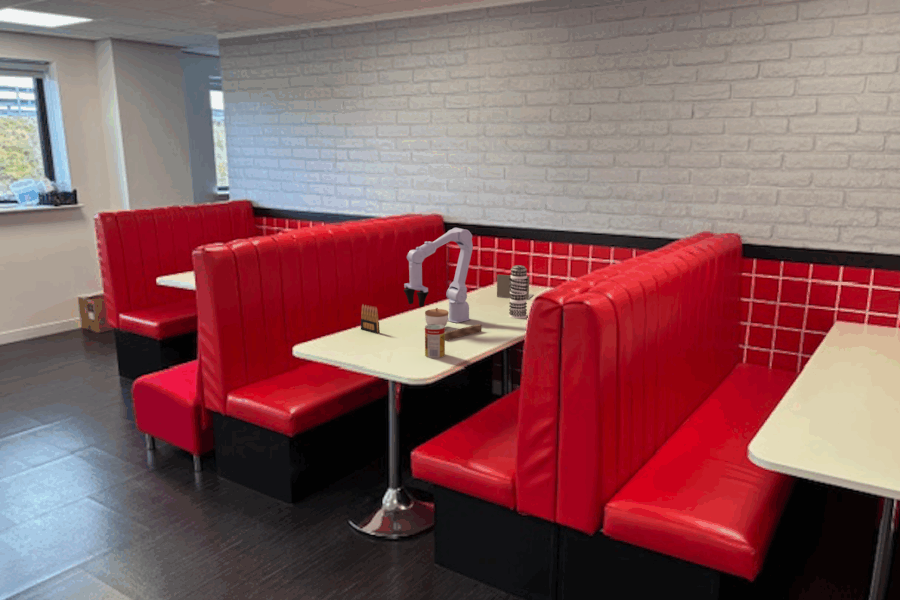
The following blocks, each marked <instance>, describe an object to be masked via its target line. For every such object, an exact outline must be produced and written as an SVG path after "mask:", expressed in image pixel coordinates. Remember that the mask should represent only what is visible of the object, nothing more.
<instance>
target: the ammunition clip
mask: <svg viewBox="0 0 900 600" xmlns="http://www.w3.org/2000/svg"><path fill="white" fill-rule="evenodd" d="M378 312H379V311H378V308H377V306H372V305H367V304H365V305H364V303H362V305H361V319H360V330H362V331H365V332H368V333H372V334H381V333H380V321H379V313H378Z"/></svg>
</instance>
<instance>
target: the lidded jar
mask: <svg viewBox="0 0 900 600" xmlns="http://www.w3.org/2000/svg"><path fill="white" fill-rule="evenodd" d="M424 311H425V312H424V315H425V318H424V319H425V322H426V325H429V324H441V325H444V326H445V327H446V326H447V324H448V322H449V321H448V318H449V310H447V309H443V308H438V307H436V308H433V309H432V308H431V309H427V310H424Z"/></svg>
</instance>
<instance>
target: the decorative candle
mask: <svg viewBox="0 0 900 600" xmlns="http://www.w3.org/2000/svg"><path fill="white" fill-rule="evenodd" d="M527 272H528V269H527V267H526V266H525V265H523V264H522V265H519V264H518V265H517V264H516V265H513V266H512V268H510V275H511V277H510V278H509V280H510V282H509V284H510V285H509V287H510V294H511V298H509V312H508V314H509V315H508V316H509V317H510V318H512V319H524V318H527V314H528V313H527V311H528V310H527V307H528V306H527V304H528V303H527V299H526V294H527V292H526V291H527V289H526V288H527V287H528V286H527V285H526V284H527V283H528V282H526V281H527V280H528V279H527V276H528V275H527V274H528V273H527Z"/></svg>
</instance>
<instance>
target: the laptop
mask: <svg viewBox="0 0 900 600" xmlns="http://www.w3.org/2000/svg"><path fill="white" fill-rule="evenodd" d="M496 277H497V278H496V297H497V298H503V299H504V298H505V299H510V298H511V294H510V287H509V285H510V284H509V282H510V280H509V278H510V277H511V274H509V275H508V274H496ZM527 279H528V280H527V281H526V282H528V283H527V284H526V285H527V286H528V287H527V288H526V289H527V291H526V292H527V294H526V301H528V300H530V299H531V298H533V296H534V293H530V276H528V275H527Z"/></svg>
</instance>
